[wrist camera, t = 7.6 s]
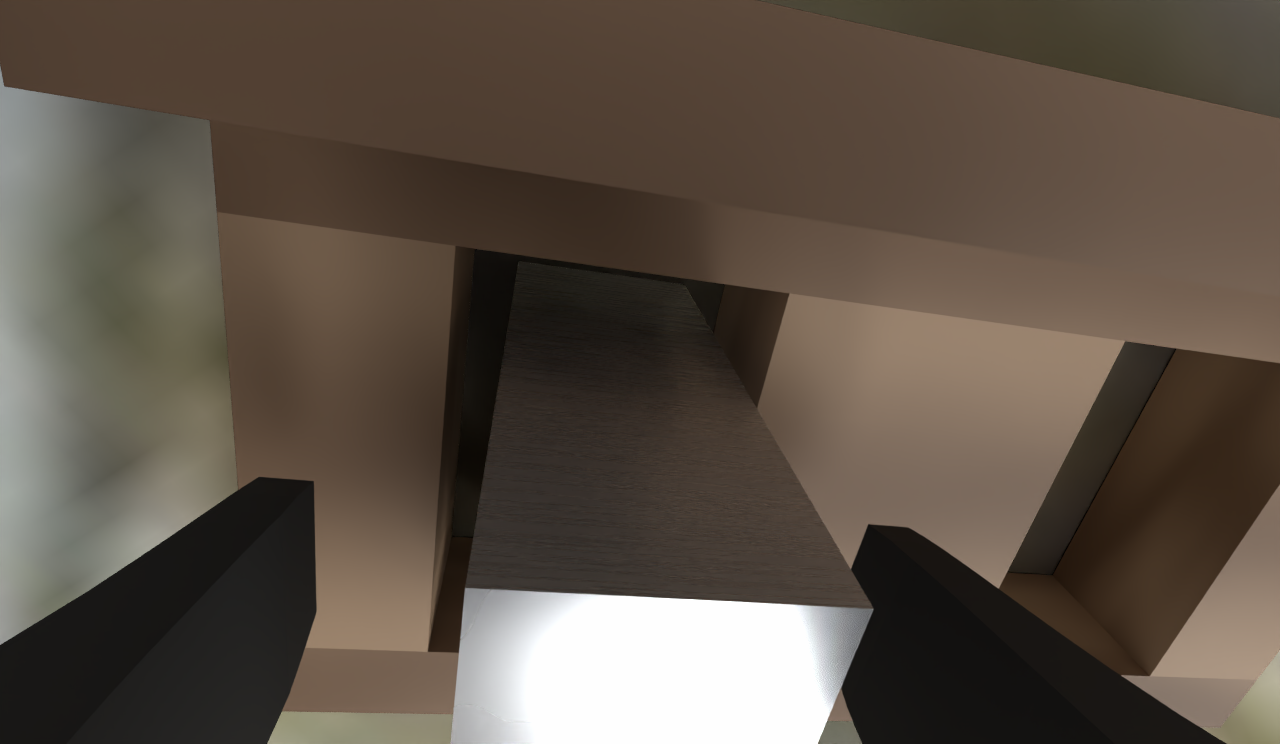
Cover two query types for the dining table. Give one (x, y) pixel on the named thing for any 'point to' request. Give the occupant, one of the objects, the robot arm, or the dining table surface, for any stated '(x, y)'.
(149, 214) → the dining table surface
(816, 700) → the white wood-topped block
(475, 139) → the brown holed block
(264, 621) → the robot arm
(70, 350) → the dining table surface
